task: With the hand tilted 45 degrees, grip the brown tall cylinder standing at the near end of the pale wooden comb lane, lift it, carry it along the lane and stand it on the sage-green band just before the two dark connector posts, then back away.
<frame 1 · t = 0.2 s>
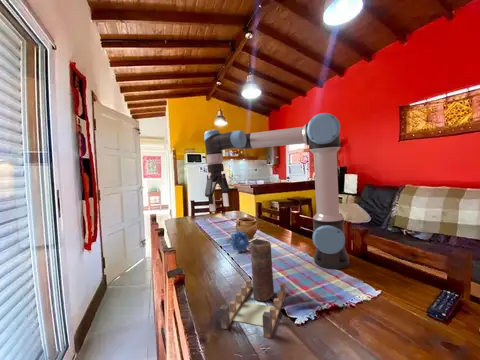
hand: (220, 208, 115), 28 cm above the table, tool pointing down, fingers open, 13 cm apart
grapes: (241, 252, 132), on the table
brown tall cylinder: (264, 297, 87), on the table
comb lane: (257, 308, 80), on the table
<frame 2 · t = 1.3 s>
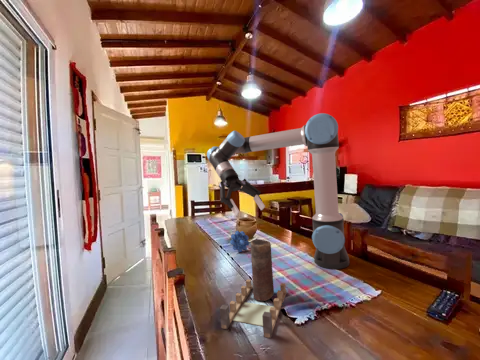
hand: (250, 211, 98), 29 cm above the table, tool tilted 45°, fingers open, 13 cm apart
nothing on the table moved.
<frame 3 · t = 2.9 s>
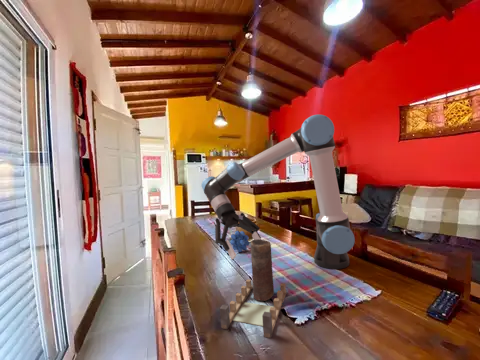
hand: (248, 252, 90), 15 cm above the table, tool tilted 45°, fingers open, 13 cm apart
nothing on the table moved.
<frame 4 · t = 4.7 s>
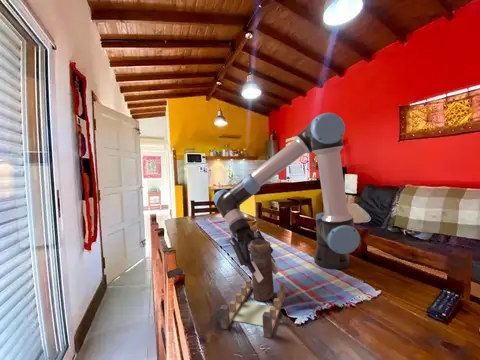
hand: (269, 276, 83), 9 cm above the table, tool tilted 45°, fingers closed on brown tall cylinder, 7 cm apart
brown tall cylinder: (264, 297, 87), on the table, touching gripper
everything else where it was.
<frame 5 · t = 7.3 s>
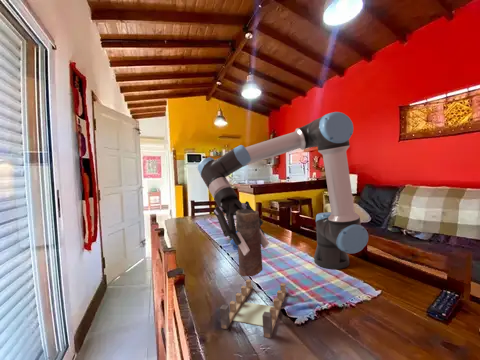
hand: (257, 249, 73), 22 cm above the table, tool tilted 45°, fingers closed on brown tall cylinder, 7 cm apart
brown tall cylinder: (251, 273, 77), point 13 cm above the table, touching gripper
everything else where it was.
when the fingers open (10 cm above the table, at t = 9.9 s): brown tall cylinder drops 1 cm, resting on comb lane.
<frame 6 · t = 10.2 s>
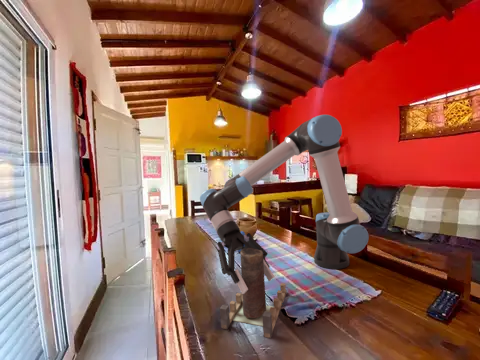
hand: (259, 285, 74), 11 cm above the table, tool tilted 45°, fingers open, 10 cm apart
brown tall cylinder: (255, 313, 77), resting on comb lane
everything else where it was.
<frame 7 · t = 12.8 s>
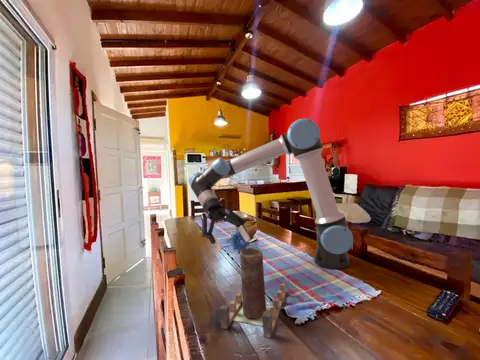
hand: (234, 245, 93), 17 cm above the table, tool tilted 45°, fingers open, 13 cm apart
nothing on the table moved.
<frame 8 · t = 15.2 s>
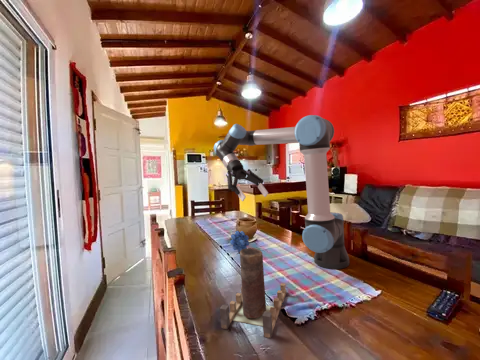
hand: (255, 197, 108), 33 cm above the table, tool tilted 45°, fingers open, 13 cm apart
nothing on the table moved.
at the end: brown tall cylinder inside the target area (0.2 cm from its centre), resting on comb lane; brown tall cylinder tilted 0°; the gripper is holding nothing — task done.
